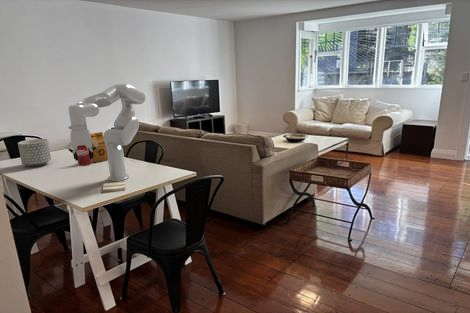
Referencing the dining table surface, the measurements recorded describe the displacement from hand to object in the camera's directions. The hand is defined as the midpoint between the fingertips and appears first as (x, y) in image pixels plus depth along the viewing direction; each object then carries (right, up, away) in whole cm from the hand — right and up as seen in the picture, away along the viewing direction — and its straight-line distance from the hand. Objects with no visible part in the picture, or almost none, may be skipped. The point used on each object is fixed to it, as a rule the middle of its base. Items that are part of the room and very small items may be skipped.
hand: (84, 159), depth 183 cm
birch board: (+14, -17, +9) cm, 23 cm away
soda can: (0, -3, +1) cm, 4 cm away
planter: (-64, -5, +63) cm, 90 cm away
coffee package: (-20, -2, +70) cm, 73 cm away
